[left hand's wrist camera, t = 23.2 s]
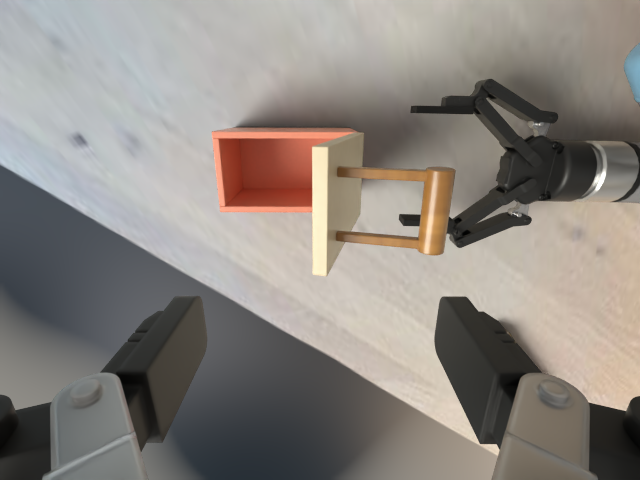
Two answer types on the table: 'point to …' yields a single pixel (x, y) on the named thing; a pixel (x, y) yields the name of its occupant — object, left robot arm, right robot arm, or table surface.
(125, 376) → the left robot arm
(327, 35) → the table surface
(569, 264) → the table surface
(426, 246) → the lid
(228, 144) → the chest
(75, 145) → the table surface
